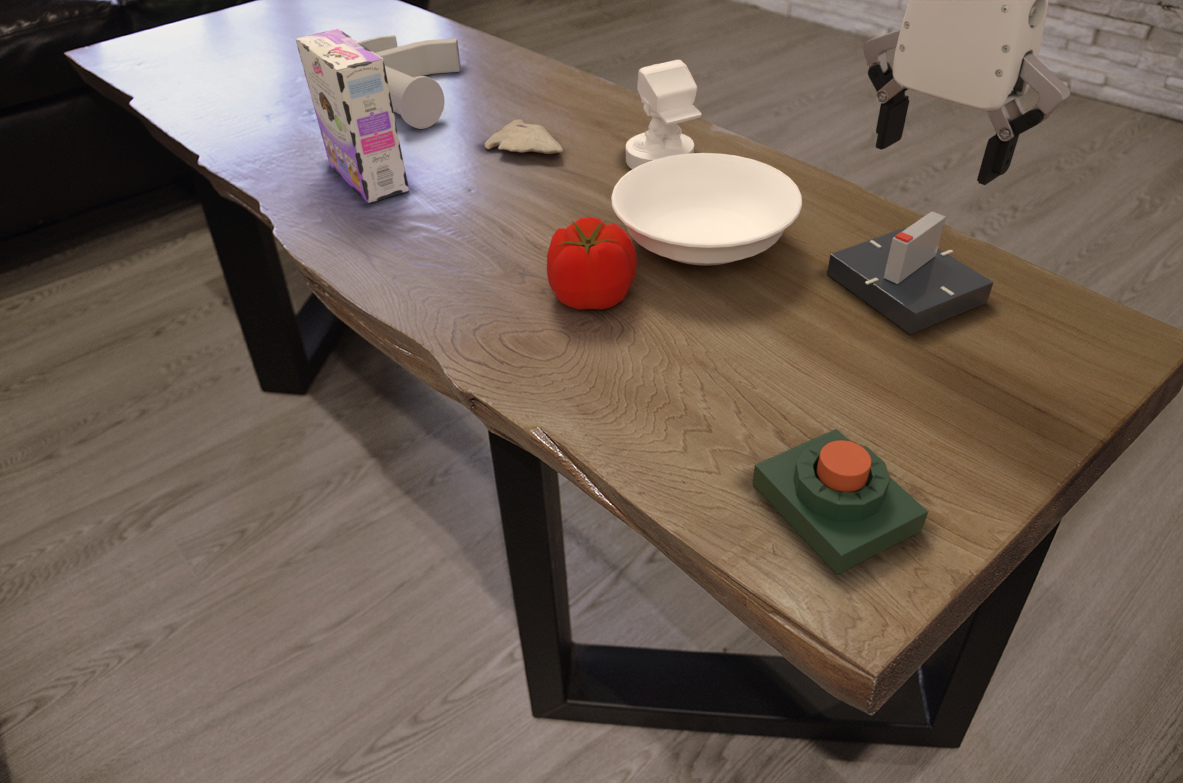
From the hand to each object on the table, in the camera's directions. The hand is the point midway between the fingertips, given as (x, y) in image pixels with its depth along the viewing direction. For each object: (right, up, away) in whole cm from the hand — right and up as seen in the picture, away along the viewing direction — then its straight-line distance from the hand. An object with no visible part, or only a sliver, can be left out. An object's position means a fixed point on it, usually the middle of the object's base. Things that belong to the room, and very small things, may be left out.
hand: (936, 160), depth 73 cm
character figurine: (-21, +9, +35) cm, 42 cm away
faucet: (-56, +26, +56) cm, 84 cm away
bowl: (-18, -4, +19) cm, 27 cm away
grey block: (+2, -8, +10) cm, 13 cm away
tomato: (-30, -11, +13) cm, 34 cm away
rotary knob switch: (+2, -10, +12) cm, 16 cm away
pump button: (-12, -26, -11) cm, 31 cm away
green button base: (-11, -29, -9) cm, 32 cm away
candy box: (-58, +7, +35) cm, 68 cm away
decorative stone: (-38, +12, +39) cm, 56 cm away
